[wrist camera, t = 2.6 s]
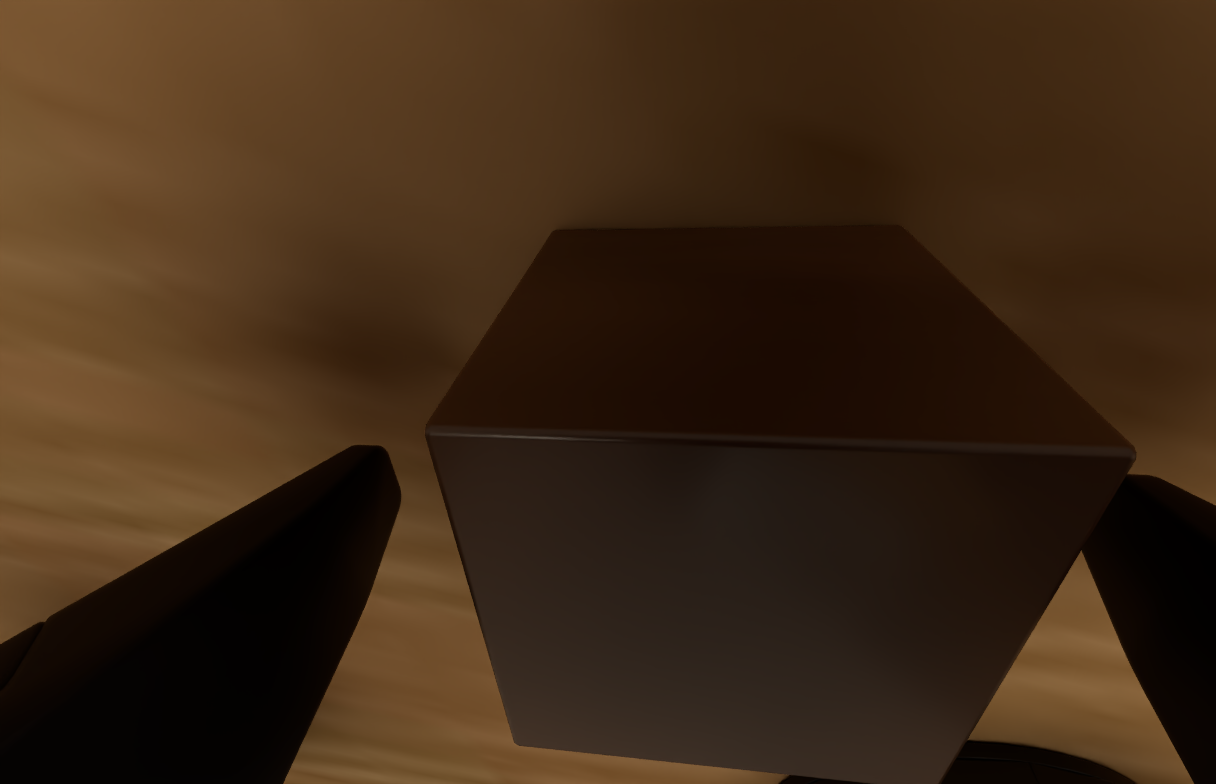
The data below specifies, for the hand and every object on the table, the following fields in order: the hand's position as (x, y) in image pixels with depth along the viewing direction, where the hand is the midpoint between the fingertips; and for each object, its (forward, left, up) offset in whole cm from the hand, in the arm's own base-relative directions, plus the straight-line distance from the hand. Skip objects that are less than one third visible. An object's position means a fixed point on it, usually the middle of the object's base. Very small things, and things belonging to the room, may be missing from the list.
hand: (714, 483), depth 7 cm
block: (0, 0, -3) cm, 3 cm away
